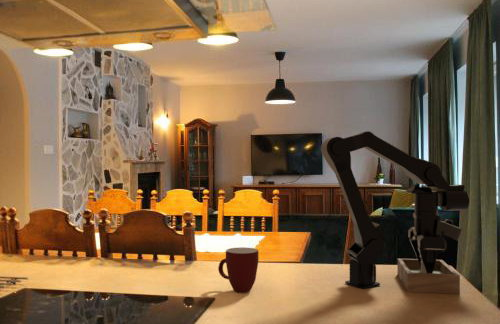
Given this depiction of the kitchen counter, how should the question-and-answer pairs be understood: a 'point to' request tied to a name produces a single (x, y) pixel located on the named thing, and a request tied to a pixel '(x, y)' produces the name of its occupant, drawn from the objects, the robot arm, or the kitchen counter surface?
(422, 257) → the robot arm
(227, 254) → the mug
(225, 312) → the kitchen counter surface
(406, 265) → the bore tray
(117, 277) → the kitchen counter surface
